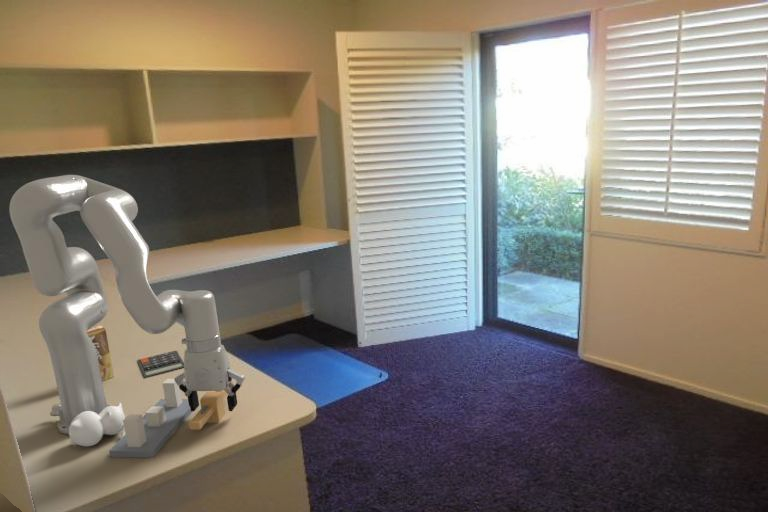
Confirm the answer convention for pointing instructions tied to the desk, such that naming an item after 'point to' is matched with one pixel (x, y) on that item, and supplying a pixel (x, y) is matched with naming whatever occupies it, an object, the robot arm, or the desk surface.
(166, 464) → the desk surface
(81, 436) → the cat figurine
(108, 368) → the candy box
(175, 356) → the calculator
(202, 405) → the tan bar with handles
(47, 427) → the desk surface
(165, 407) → the display stand
